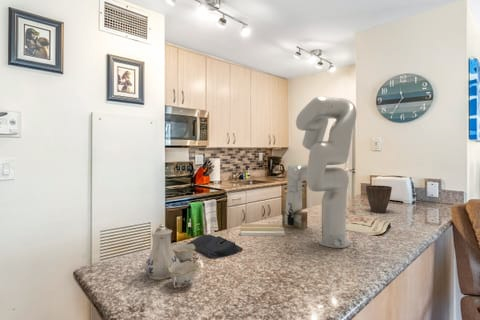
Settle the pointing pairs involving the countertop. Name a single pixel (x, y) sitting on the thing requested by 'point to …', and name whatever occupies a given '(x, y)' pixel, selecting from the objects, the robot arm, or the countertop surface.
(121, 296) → the countertop surface
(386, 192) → the plant pot
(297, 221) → the brown rectangular panel
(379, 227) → the grape print plaque
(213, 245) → the dark folded cloth
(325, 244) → the robot arm
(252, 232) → the ledge board
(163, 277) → the chinaware
